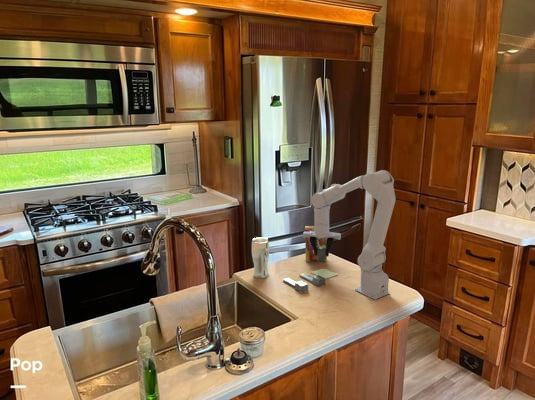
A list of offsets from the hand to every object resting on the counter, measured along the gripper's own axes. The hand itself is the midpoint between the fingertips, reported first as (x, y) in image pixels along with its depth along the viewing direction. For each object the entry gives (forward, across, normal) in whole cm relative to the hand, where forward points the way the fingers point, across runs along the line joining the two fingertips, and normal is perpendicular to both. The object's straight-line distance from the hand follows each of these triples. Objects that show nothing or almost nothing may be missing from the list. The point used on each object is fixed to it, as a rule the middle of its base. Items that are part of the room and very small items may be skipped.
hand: (321, 255), depth 160 cm
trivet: (+8, +1, +1) cm, 8 cm away
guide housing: (+8, -6, -9) cm, 14 cm away
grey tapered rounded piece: (+2, -1, +2) cm, 3 cm away
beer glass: (+8, -24, -5) cm, 26 cm away
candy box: (+8, -4, +15) cm, 18 cm away
